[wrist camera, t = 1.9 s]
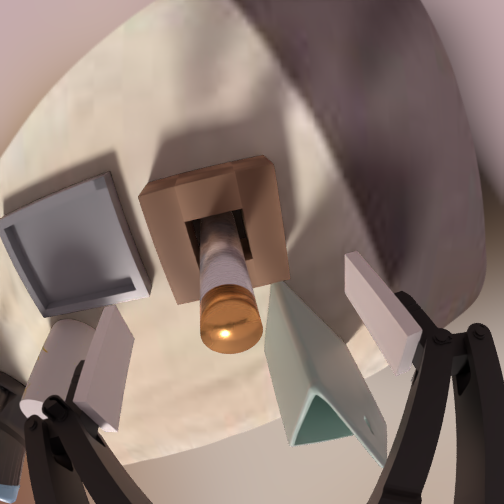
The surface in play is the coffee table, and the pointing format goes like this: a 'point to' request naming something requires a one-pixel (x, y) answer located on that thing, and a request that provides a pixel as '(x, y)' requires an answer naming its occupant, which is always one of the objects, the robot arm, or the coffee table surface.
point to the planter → (318, 379)
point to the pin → (226, 289)
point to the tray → (75, 249)
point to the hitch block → (210, 203)
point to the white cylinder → (56, 364)
